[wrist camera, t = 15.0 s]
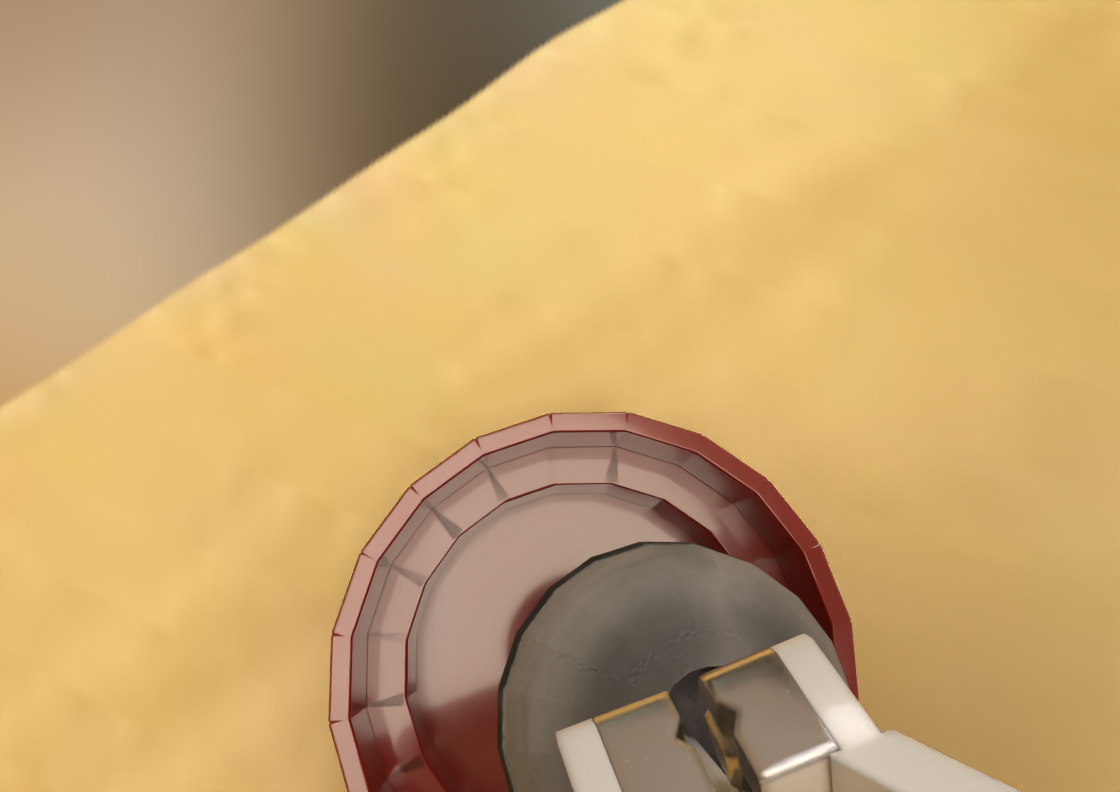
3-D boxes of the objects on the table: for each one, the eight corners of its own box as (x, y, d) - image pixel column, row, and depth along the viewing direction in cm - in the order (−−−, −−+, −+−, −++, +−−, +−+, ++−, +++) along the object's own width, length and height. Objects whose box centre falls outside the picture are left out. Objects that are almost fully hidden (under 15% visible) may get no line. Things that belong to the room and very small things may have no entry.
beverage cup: (750, 692, 30) (1242, 764, 11) (600, 864, 28) (866, 1327, 9) (597, 536, 31) (795, 345, 12) (442, 692, 29) (373, 771, 10)
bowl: (529, 368, 33) (532, 318, 27) (868, 601, 32) (949, 602, 26) (275, 716, 30) (216, 745, 24) (640, 990, 28) (674, 1092, 23)
